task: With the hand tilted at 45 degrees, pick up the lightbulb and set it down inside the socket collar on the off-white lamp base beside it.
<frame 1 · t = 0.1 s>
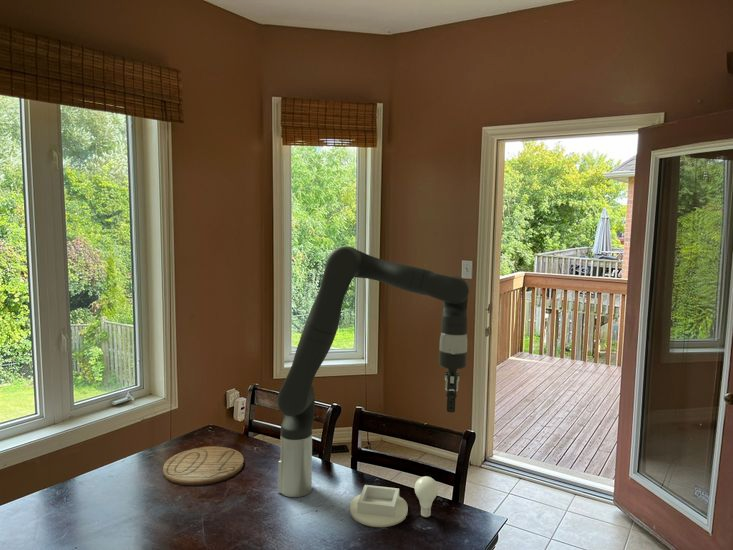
hand: (450, 406, 145), 29 cm above the table, tool pointing down, fingers open, 8 cm apart
trivet: (204, 468, 171), on the table
lightbulb: (425, 517, 143), on the table
lamp base: (378, 510, 145), on the table
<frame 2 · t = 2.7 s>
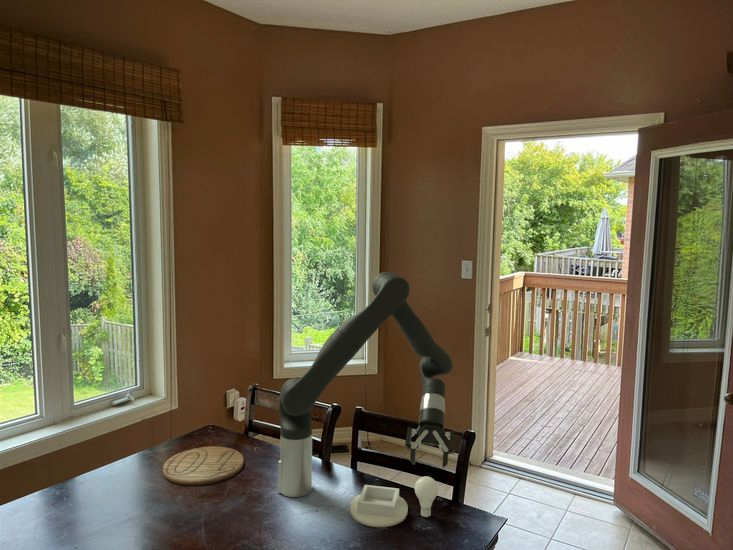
hand: (428, 465, 149), 11 cm above the table, tool tilted 45°, fingers open, 8 cm apart
nothing on the table moved.
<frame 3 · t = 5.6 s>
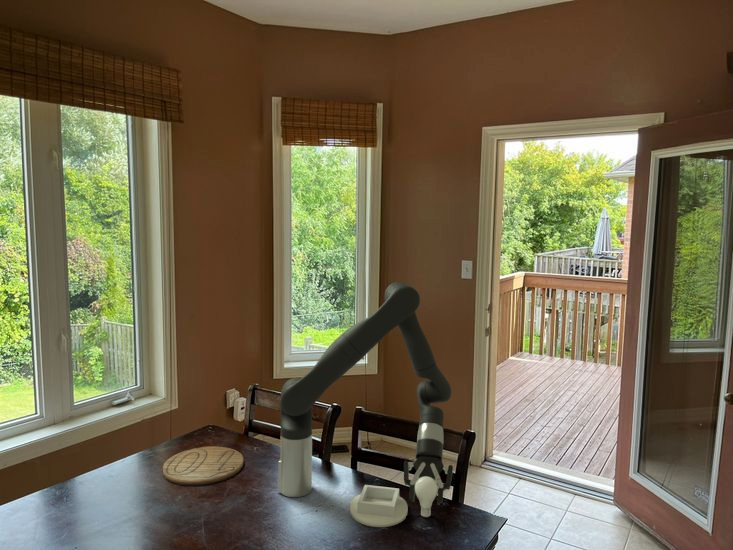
hand: (425, 502, 141), 5 cm above the table, tool tilted 45°, fingers closed on lightbulb, 6 cm apart
lightbulb: (425, 517, 143), on the table, touching gripper
everything else where it was.
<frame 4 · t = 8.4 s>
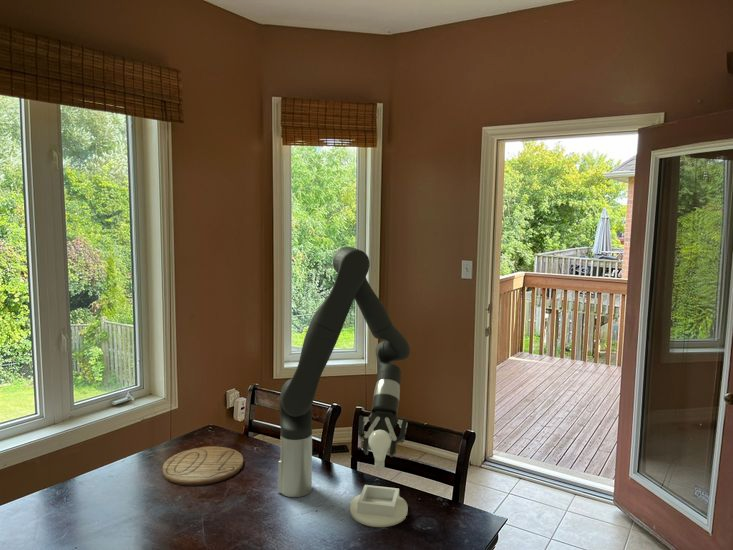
hand: (378, 454, 142), 17 cm above the table, tool tilted 45°, fingers closed on lightbulb, 6 cm apart
lightbulb: (379, 469, 145), point 12 cm above the table, touching gripper
everything else where it was.
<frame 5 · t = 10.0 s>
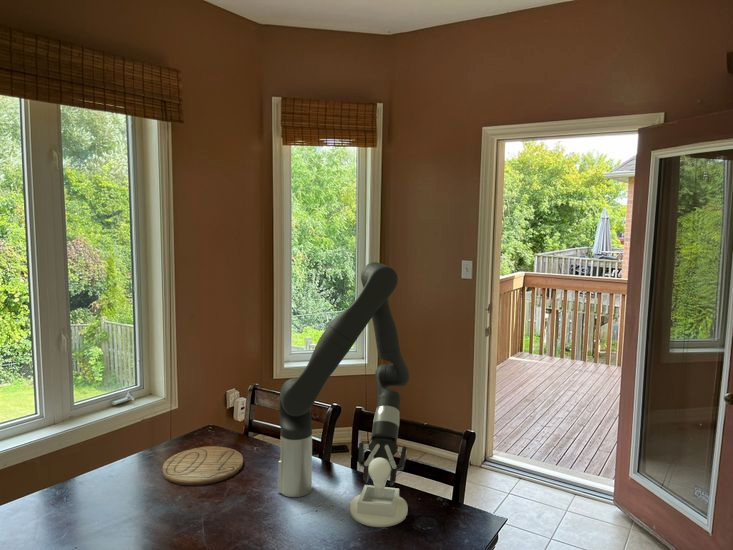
hand: (378, 482, 143), 9 cm above the table, tool tilted 45°, fingers closed on lightbulb, 6 cm apart
lightbulb: (379, 497, 145), point 4 cm above the table, touching gripper
everything else where it was.
when the fingers open (8 cm above the table, at t = 11.3 s): lightbulb drops 1 cm, resting on lamp base.
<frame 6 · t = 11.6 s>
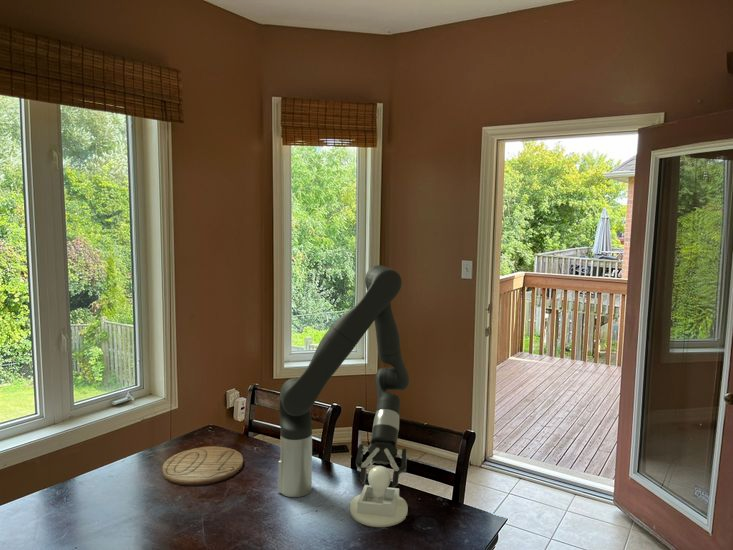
hand: (378, 484, 143), 8 cm above the table, tool tilted 45°, fingers open, 8 cm apart
lightbulb: (378, 505, 146), point 1 cm above the table, touching lamp base
everything else where it was.
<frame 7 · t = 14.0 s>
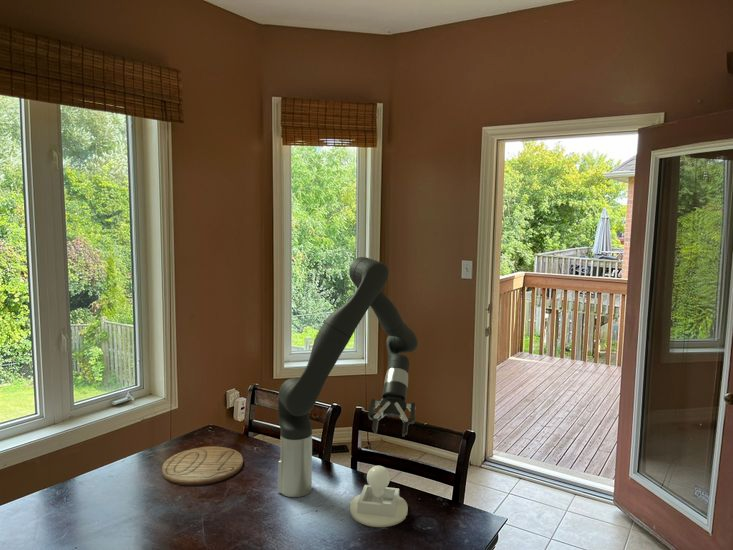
hand: (389, 434, 157), 17 cm above the table, tool tilted 45°, fingers open, 8 cm apart
nothing on the table moved.
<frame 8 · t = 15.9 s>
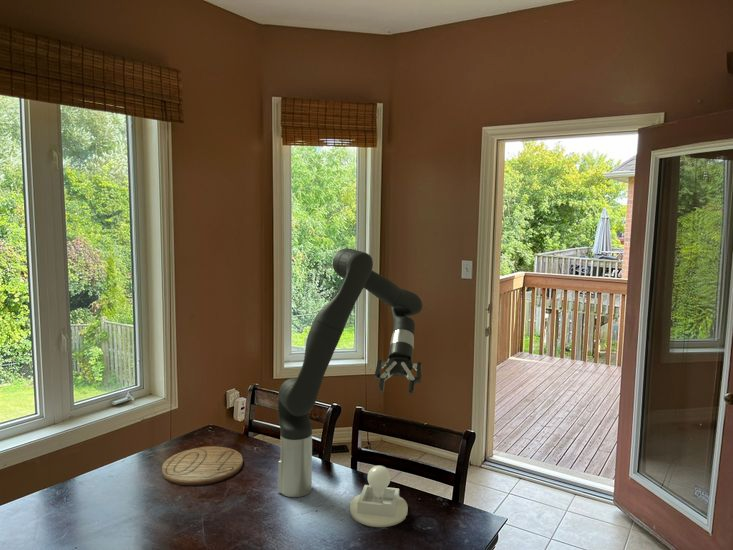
hand: (396, 392, 159), 29 cm above the table, tool tilted 45°, fingers open, 8 cm apart
nothing on the table moved.
at the end: lightbulb 0.3 cm from the lamp base (horizontally); lightbulb tilted 0°; the gripper is holding nothing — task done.
